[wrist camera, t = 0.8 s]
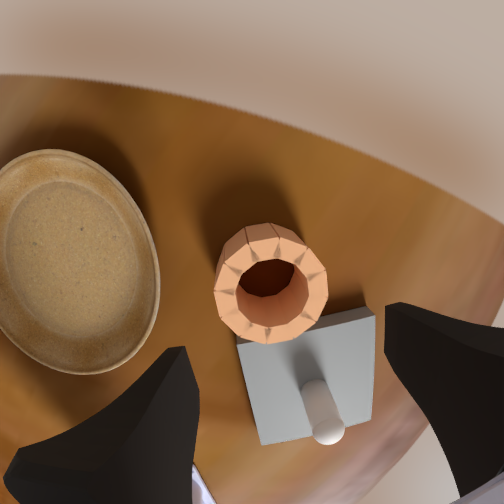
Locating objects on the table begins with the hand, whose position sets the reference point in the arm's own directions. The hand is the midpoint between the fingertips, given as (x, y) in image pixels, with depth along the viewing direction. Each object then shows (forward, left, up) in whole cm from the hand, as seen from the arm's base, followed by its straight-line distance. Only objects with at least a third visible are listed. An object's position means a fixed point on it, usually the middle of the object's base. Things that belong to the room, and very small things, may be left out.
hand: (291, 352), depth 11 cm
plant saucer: (+3, +13, -10) cm, 17 cm away
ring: (0, 0, -9) cm, 9 cm away
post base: (-9, -2, -9) cm, 13 cm away
